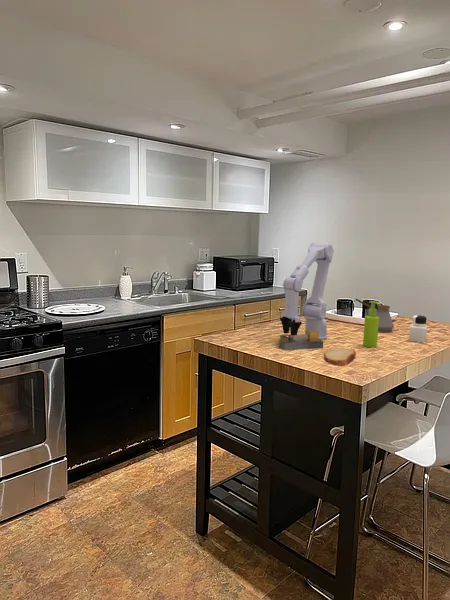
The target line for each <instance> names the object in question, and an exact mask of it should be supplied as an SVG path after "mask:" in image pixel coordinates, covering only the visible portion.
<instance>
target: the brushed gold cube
mask: <svg viewBox="0 0 450 600" xmlns="http://www.w3.org/2000/svg"><path fill="white" fill-rule="evenodd" d="M306 334H307V335H308V341H318V340H319V332H318V331H316V330H306Z"/></svg>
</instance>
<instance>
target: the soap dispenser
mask: <svg viewBox="0 0 450 600" xmlns="http://www.w3.org/2000/svg"><path fill="white" fill-rule="evenodd" d="M369 303H370V307H371V308H368V314H367V315H365V316H364V325H363V326H364V327H363V336H362V337H363V339H362V346H363V347H365V346H366V347H365V348H369V347H375V348H377V347H376V346H377V345H378V337H379V336H378V335H379V334H378V333H379V332H378V325H379V317H377V316H376V313H377V310H378V309H377V308H376V305H382V303H381V302H379V301H373V300H371V301H369Z"/></svg>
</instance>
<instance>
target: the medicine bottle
mask: <svg viewBox="0 0 450 600" xmlns="http://www.w3.org/2000/svg"><path fill="white" fill-rule="evenodd" d="M427 319H428V318H427V316H425V315H421V314H420V315H419V314H418V315H417V314H416V315H413V316H412V322H411V324H410V326H409V337H408V342H410V341H417V342H416V343H418V342H425V343H426V341H427V333H428V326H427Z"/></svg>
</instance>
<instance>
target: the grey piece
mask: <svg viewBox="0 0 450 600" xmlns="http://www.w3.org/2000/svg"><path fill="white" fill-rule="evenodd" d="M288 339H289V338H288V335H285V334H284V335H280V336H279V340H278V347H279V348H281V349H282V350H284V351H287V350H288V351H291V350H293V351H294V350H311V349H312V350H313V349H323V348H324V340H323V339H319V340H318V341H308V340H293V341H289V340H288Z"/></svg>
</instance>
